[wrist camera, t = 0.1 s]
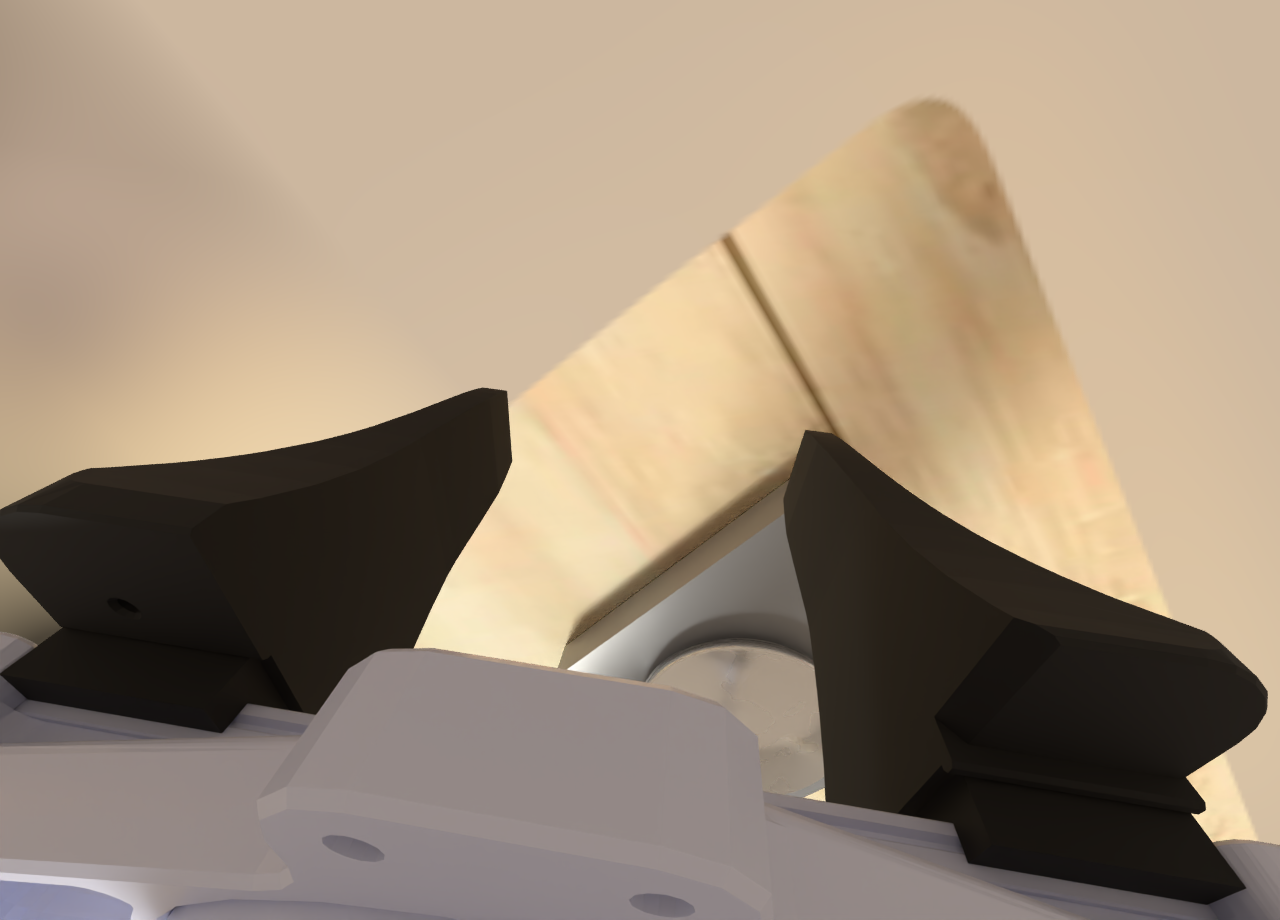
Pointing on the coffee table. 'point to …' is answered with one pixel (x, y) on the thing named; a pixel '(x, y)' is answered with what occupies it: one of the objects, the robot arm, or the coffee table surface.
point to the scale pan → (759, 701)
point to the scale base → (706, 603)
